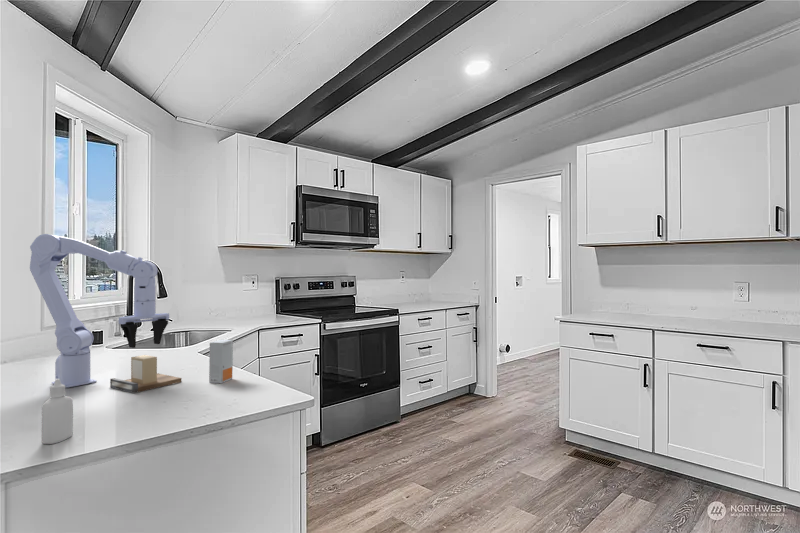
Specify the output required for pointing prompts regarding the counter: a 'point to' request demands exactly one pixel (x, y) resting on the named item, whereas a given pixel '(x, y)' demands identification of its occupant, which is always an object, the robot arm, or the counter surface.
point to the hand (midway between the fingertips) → (144, 345)
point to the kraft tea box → (143, 369)
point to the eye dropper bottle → (57, 415)
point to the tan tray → (137, 387)
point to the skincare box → (221, 361)
